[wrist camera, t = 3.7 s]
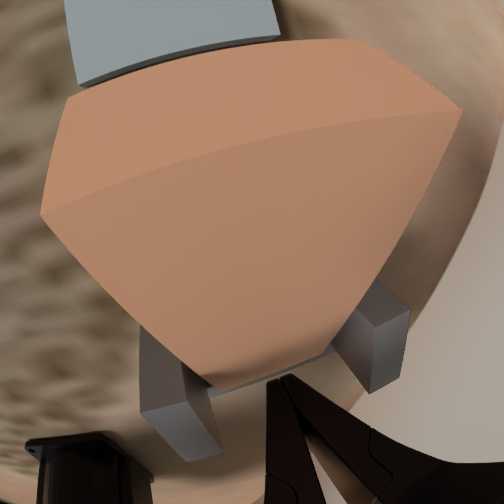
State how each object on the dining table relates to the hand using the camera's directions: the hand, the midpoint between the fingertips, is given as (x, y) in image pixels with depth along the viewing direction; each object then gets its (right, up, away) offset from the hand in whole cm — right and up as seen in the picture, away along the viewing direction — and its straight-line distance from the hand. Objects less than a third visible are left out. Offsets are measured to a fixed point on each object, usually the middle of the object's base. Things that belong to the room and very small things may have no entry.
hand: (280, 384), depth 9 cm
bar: (-1, +4, -2) cm, 5 cm away
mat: (-4, +15, -4) cm, 16 cm away
